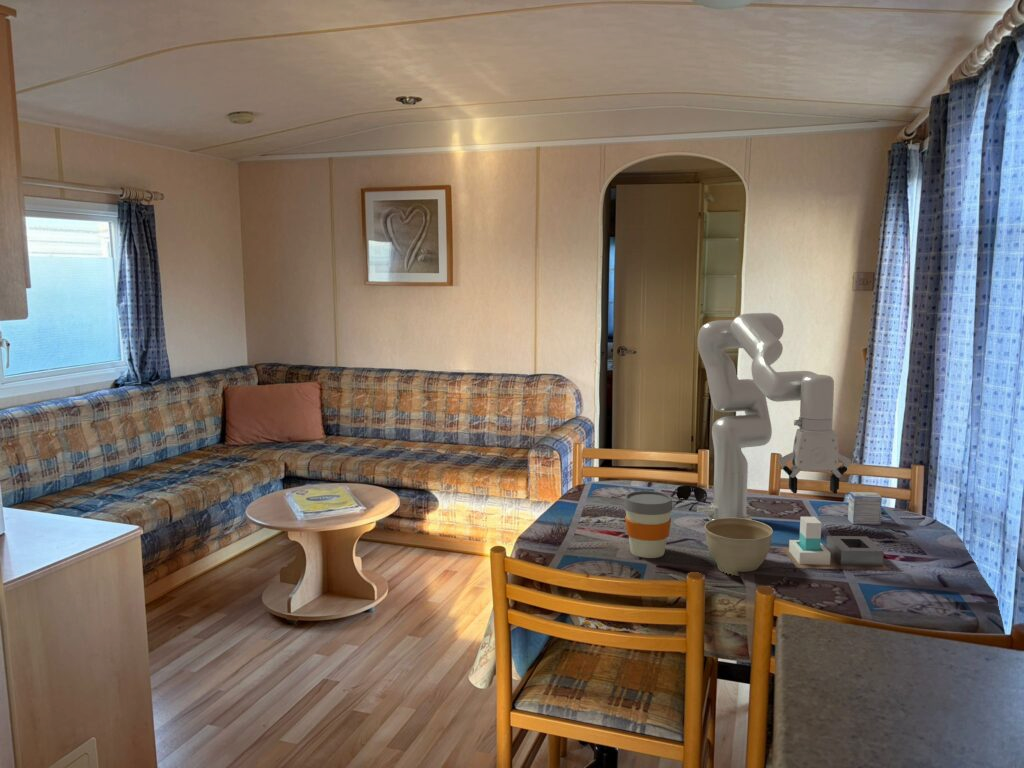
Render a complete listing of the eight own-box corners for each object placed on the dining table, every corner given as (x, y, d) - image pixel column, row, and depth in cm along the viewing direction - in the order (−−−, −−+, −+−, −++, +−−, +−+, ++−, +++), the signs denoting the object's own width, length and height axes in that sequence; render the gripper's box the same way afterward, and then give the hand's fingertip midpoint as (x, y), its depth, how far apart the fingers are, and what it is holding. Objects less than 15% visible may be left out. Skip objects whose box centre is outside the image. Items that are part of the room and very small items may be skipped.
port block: (840, 566, 183) (841, 550, 182) (826, 550, 193) (827, 535, 192) (882, 566, 182) (883, 551, 181) (866, 551, 192) (866, 536, 191)
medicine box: (874, 520, 221) (876, 492, 219) (880, 525, 216) (882, 496, 215) (847, 519, 221) (848, 491, 220) (852, 524, 217) (854, 496, 216)
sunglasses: (708, 502, 240) (708, 487, 239) (696, 516, 231) (696, 501, 229) (677, 497, 246) (677, 483, 245) (664, 511, 236) (664, 496, 235)
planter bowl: (719, 552, 196) (720, 513, 195) (780, 567, 186) (782, 525, 184) (692, 571, 184) (693, 529, 182) (756, 588, 174) (757, 544, 172)
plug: (804, 561, 186) (806, 522, 184) (798, 553, 191) (800, 516, 189) (819, 561, 186) (821, 523, 184) (813, 554, 190) (814, 516, 189)
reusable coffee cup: (635, 563, 190) (636, 506, 188) (616, 546, 202) (616, 492, 200) (680, 557, 193) (681, 502, 191) (658, 541, 205) (659, 488, 203)
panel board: (796, 573, 182) (797, 567, 182) (780, 552, 196) (781, 547, 195) (889, 575, 180) (890, 569, 180) (866, 554, 194) (867, 548, 194)
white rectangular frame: (799, 563, 184) (799, 552, 184) (789, 551, 193) (789, 539, 192) (829, 564, 184) (830, 553, 183) (818, 551, 192) (818, 540, 192)
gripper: (784, 427, 180) (782, 496, 182) (857, 427, 179) (854, 496, 181) (775, 422, 187) (774, 487, 190) (846, 422, 186) (843, 488, 188)
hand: (813, 492), depth 185 cm, fingers open, 9 cm apart
